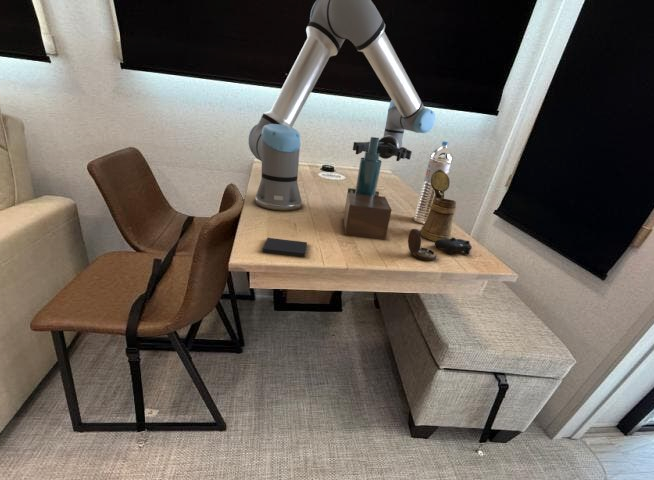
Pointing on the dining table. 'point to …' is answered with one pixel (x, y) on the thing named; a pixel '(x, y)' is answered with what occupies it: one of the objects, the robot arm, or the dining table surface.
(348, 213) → the brown wooden box
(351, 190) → the drawer
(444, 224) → the wooden mug
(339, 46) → the robot arm
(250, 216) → the dining table surface
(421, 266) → the dining table surface
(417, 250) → the compass
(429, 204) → the water bottle
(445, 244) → the game controller
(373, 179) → the bottle
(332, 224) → the dining table surface
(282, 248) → the mat
